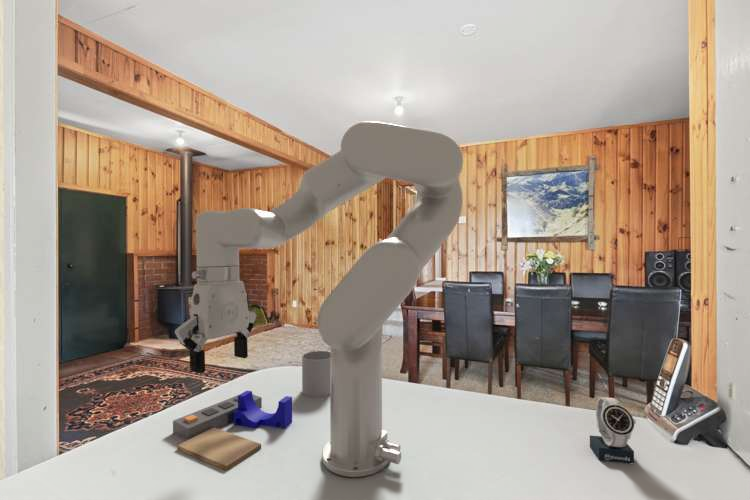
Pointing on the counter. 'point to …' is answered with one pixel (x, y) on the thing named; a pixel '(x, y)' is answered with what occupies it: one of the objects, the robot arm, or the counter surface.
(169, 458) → the counter surface
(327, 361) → the cup
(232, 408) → the power strip
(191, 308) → the robot arm
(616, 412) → the watch
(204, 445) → the wooden board
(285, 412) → the cable clip
